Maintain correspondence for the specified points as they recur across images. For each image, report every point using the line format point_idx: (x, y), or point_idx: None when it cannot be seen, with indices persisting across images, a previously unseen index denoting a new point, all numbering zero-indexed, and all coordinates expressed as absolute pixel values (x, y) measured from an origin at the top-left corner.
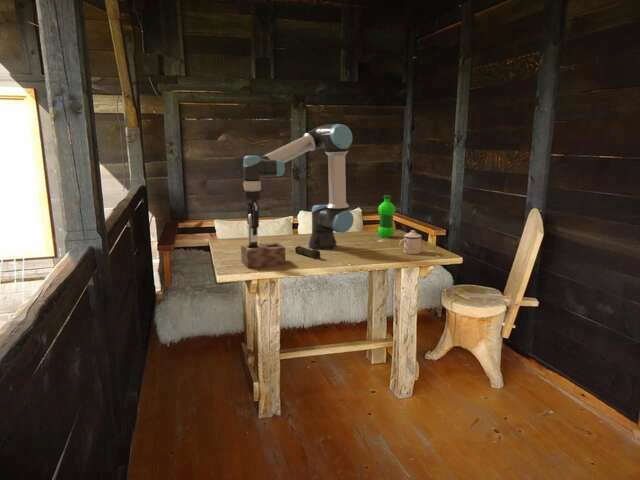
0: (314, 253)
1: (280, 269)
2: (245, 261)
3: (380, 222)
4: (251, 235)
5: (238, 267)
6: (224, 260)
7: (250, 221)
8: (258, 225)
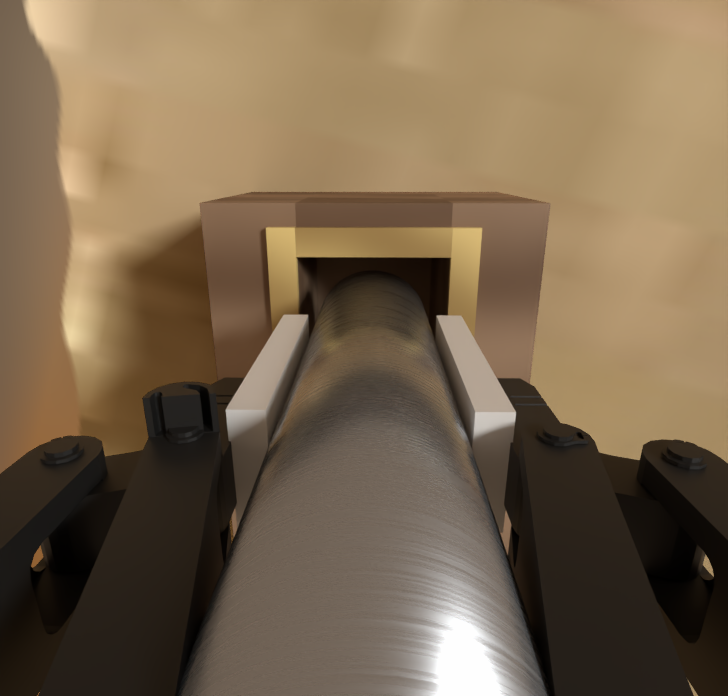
0: None
1: (141, 429)
2: (323, 194)
3: None
4: (281, 347)
5: (302, 112)
6: (640, 28)
7: (261, 496)
8: (45, 573)
